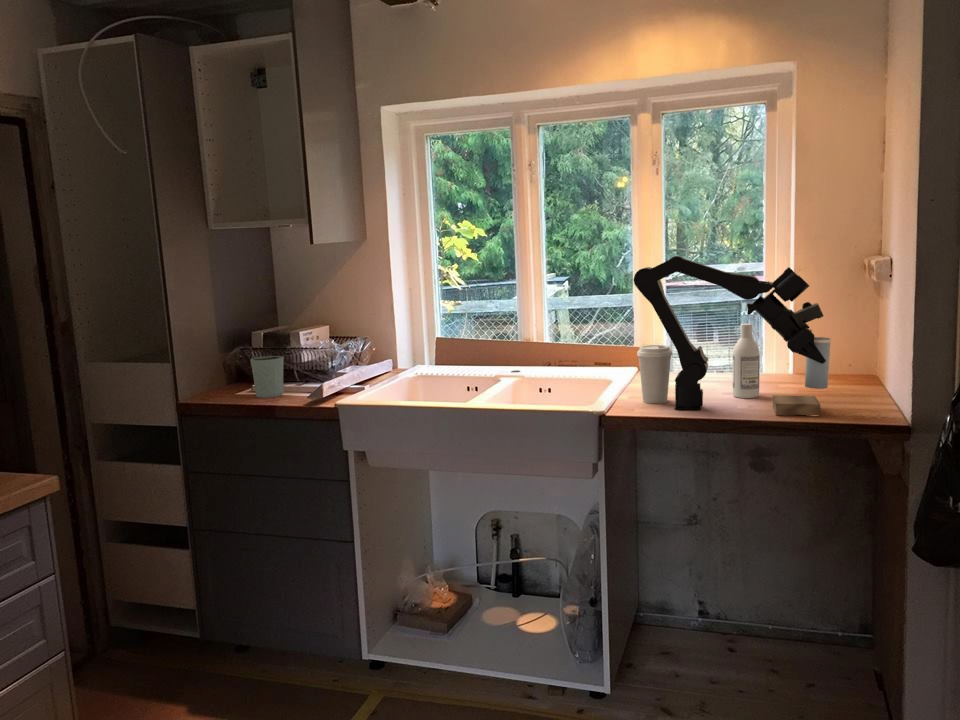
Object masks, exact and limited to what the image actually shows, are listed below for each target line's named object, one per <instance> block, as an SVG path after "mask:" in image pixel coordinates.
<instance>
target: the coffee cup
mask: <svg viewBox="0 0 960 720" xmlns="http://www.w3.org/2000/svg"><path fill="white" fill-rule="evenodd" d="M636 355H637V356H638V363H639V364H638V365H639V374H640V375H639V376H640V383H641V393H642V401H643V403H645V402H646V404H653V403H658V404H664V403H667V402H668V397H669V396H668V395H669V384H670V371H671V361H672V360H671V359H672V356H673V355H674V354H673V350H672V349H671V347H670V346H669V345H664V344H647V345H642V346H639V349H638V350H637V352H636Z"/></svg>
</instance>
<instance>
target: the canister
mask: <svg viewBox="0 0 960 720" xmlns="http://www.w3.org/2000/svg"><path fill="white" fill-rule="evenodd" d="M831 342H832V338H831V337H830V338H829V337H823V336H815V337H814V344H815V346H816V347H817V348H818V350H819V351H820V353H821V354H822V356H823V357H824V359H825V360H826V362H825V363H823V364H822V363H819V362H817V361H815V360H812V359H810V358H807V357H805V358H806V359H805V377H804V387H805V388H809V389H814V390H815V389H816V390H817V389H818V390H824V389H828V387H829V374H830V373H829V371H830V353H831Z"/></svg>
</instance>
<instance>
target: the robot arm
mask: <svg viewBox="0 0 960 720" xmlns="http://www.w3.org/2000/svg"><path fill="white" fill-rule="evenodd" d="M674 273H679V274H682V275H686V276H687V277H692V278H695V279H698V280H700V281H703V282H705V283H706V282H707V283H710V284H713V285H716V286H718V287H721V288H723V289H725V290H726V291H728V292H729V293H732V294H734V296H738V297H739V298H741V299H743V300H747V301H751V300H753V299H755V298H756V299H755V300H754V301H753V302H752V303H751V302H750V303H749V302H747V303H746V308H747V312H746V313H747V315H748V316H750V315H751V314H752V313H754V311H755V312H756V313H757V314H758V315H759V316H760V317H761V318H762V319H763V320H764V321H765V322H766V323H767V324H768V325H770V328H771V329H773V331H775V332H777V334H778V335H779V336H781V338H782V339H783V340H784V341H785V342H786V346H787V348H788V350H790V351H791V352H792V353H795V354H798V355H801V356H802V357H803V356H804V357H805V358H806V357H807V358H810V359H812V360H815V361H817V362H819V363H822V364H823V363H825V362H826V360H825V359H824V357H823V356H822V354H821V353H820V351H819V350H818V348H817V347H816V346H815V344H814V337H816V335H815V334H814V333H813V331H812V329H810V328H811V327H810V326H809V324H807V323H809V322H811V321H813V320H816V319H822V318H823V317H824V313H823V311H822V309H821V307H820V305H819V303H818V302H817V303H816V302H815V303H813V304H812V303H811V302H809V301H806V302H803V303H802V306H801V308H800V309H799V310H796V311H795V312H794V311H793V310H792V308H791V309H789V308H788V307H787V306H786V305H785V304H784V303H783V302H785V303H787V302H789V301H790V302H792V303H793V301H795V299H797V298H798V297H800V295H802V293H804V292H805V291H807V289H808V288H809V287H810V285H809V283H808V282H806V280H804V278H802V277H801V276H800V275H798V274H797V273H796V272H795V271H794V270H793V269H792V268H791V267H787V268H786V269H784V271H783V272H782V273H781V274H780V275H779V276H778V277H777V278H776V279H775V280H773V282H771V281H769V280H767V281H765V280H760V279H759V278H758V277H757V276H755V275H751V274H744V273H738V272H737V273H735V272H729V271H724V270H722V269H718V268H715V267H712V266H709V265H705V264H702V263H700V262H696V261H693V260H690V259H687V258H685V257H683V256H681V255H674V256H672V257H671V258H670V259H668V260H667V261H666V260H665V261H663V262H662V263H660V264H657V265H656V266H654V267H651V266H650V267H649V266H646V267H643V268H640V269H638V270H637V271H636V272H635V274H634V276H633V283H634V286H635V287H636V288H637V290H638V291H639V292H640V293H641V294H642V296H643V297H644V298H645V299H646V300H647V301H648V302H649V303H650V304H651V306H652V308H653V309H654V311H655V313H656V315H657V317H658V319H659V321H660V323H661V324H662V326H663V328H664V330H665V331H666V334H667V335H668V337H669V339H670V341H671V343H672V344H673V345H674V347H675V349H676V352H677V356H678V359H679V364H680V365H681V366H680V367H681V371H680V372H678V373H677V375H676V377H675V378H674V382H675V386H674V387H675V388H674V390H675V391H674V395H675V396H674V399H675V404H674V410H676V411H677V410H680V411H681V410H683V411H686V410H687V411H690V410H691V411H700V410H701V409H702V407H703V406H704V404H703V403H704V402H703V401H704V389H703V388H701V383H699V381H701V380H702V379H703V378H705V376H706V374H707V372H708V369H709V364H708V362H709V358H708V357H707V356H706V354H705V353H704V350H703V347H702V345H699V346H698V347H696V346H694V345H693V343H692V342H691V340H690V339H689V337H688V335H687V333H686V332H685V330H684V328H683V326H682V325H681V323H680V321H679V319H678V317H677V315H676V314H675V311H674V310H673V308H672V306H671V304H670V303H669V301H668V298H667V297H666V295H665V291H664V286H663V283H662V280H663V279H664V278H667V277H669V276H671V275H673V274H674ZM765 293H768V294H767V295H766V296H764V297H763V296H762V295H760V294H765ZM774 294H776V295H777V296H778V297H779V298H778V297H777V296H775V295H774ZM757 297H758V298H757ZM780 299H781V300H782V301H783V302H782V301H781V300H780Z"/></svg>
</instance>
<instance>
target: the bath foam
mask: <svg viewBox="0 0 960 720" xmlns="http://www.w3.org/2000/svg"><path fill="white" fill-rule="evenodd" d="M760 358H761V356H760V350H759V346H758V345H757V343H756V341H755V340H754V338H753V324H752V323H741V324H740V338H738V340H737V342H736V343H735V345H734V347H733V351H732V396H733V397H735V398H738V399H754V398H758V397H759V396H760V367H761V365H760V362H761V361H760Z"/></svg>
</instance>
